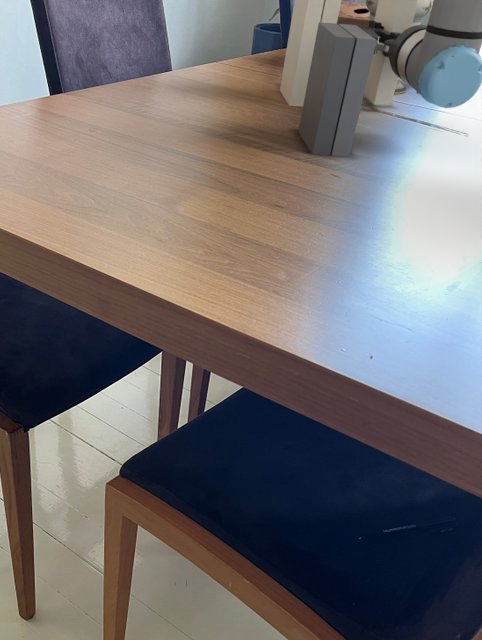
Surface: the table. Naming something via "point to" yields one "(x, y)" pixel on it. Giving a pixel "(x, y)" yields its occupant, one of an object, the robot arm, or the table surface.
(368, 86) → the white book
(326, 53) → the grey books
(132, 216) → the table surface
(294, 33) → the white books
